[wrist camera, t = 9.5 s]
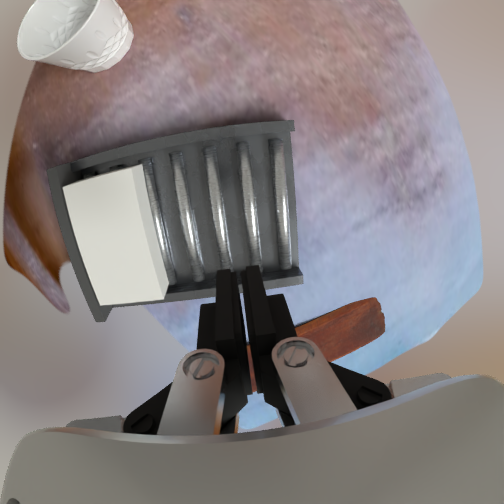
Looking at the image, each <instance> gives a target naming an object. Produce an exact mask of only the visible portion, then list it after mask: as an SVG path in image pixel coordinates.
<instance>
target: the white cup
mask: <svg viewBox="0 0 504 504" xmlns="http://www.w3.org/2000/svg"><path fill="white" fill-rule="evenodd" d="M133 37H134V34H133V29H132V24H131V23H130V22H129V20H128V19H127V18H126V16H125V14H124V12H123V10H122V9H121V8H120V6H119V4H118V3H117V1H116V0H36V1H35V2H34V3H33V5H32V6H31V7H30V8H29V10H28V11H27V13H26V15H25V16H24V18H23V20H22V23H21V25H20V28H19V32H18V36H17V48H18V51H19V53H20V55H21V56H22V57H23V58H25V59H27V60H31V61H37V62H42V63H47V64H52V65H56V66H60V67H65V68H71V69H75V70H83V71H88V72H93V73H96V72H100V71H103V70H107V69H109V68H110V67H112V66H113V65H115V64H116V63H118V62H119V61H120V60H121V59H122V58H123V57H124V55H125V54H126V53H127V51H128V50H129V49H130V46H131V43H132V40H133Z"/></svg>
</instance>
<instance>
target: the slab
mask: <svg viewBox="0 0 504 504" xmlns="http://www.w3.org/2000/svg"><path fill="white" fill-rule="evenodd" d="M63 191H64V196H65V200H66V204H67V208H68V212H69V216H70V220H71V223H72V227H73V230H74V234H75V237H76V240H77V244H78V247H79V250H80V253H81V256H82V259H83V262H84V265H85V268H86V270H87V273H88V276H89V279H90V281H91V284H92V286H93V289H94V291H95V294H96V296H97V299H98V301H99V304H100V306H101V305H113V304H124V303H134V302H144V301H154V300H163V299H164V297H165V294H166V291H167V288H168V285H169V281H168V278H167V274H166V270H165V267H164V263H163V259H162V255H161V251H160V247H159V243H158V239H157V235H156V230H155V226H154V222H153V217H152V212H151V208H150V203H149V198H148V193H147V188H146V183H145V177H144V172H143V166H142V164H140V165H135V166H131V167H127V168H123V169H119V170H115V171H111V172H107V173H104V174H100V175H97V176H93V177H90V178H86V179H83V180H80V181H77V182H74V183H72V184H69V185H67V186H64V187H63Z"/></svg>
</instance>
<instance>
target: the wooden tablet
mask: <svg viewBox="0 0 504 504" xmlns="http://www.w3.org/2000/svg"><path fill="white" fill-rule="evenodd" d="M384 319H385V317H384V314H383V313H382V312H381V305H380V303H379V302H378V301H377V298H368V299H364V300H360V301H356V302H353V303H350V304H348V305H345V306H343V307H341V308H339V309H336V310H334V311H332V312H330V313H328V314H325V315H323V316H321V317H319V318H316V319H314V320H312V321H310V322H308V323H305V324H303V325H301V326H298V327H295V330H296V333H297V336H298V337H303V338H307V339H309V340H311V341H313V342H314V343H315V344H316V345H317V346H318V348H319V349H320V351H321V352H322V354H323V356H324V357H325V359H326V360H327V361H329V362H332V361H334V360H336V359H338V358H340V357H343V356H345V355H347V354H349V353H351V352H353V351H355V350H357V349H359V348H360V347H363V346H364V345H366V344H368V343H370V342H372V341H373V340H375V339H377V338H378V337H380V336H381V335H382V334H383V333H384V332H385V322H384ZM247 351H248V360H249V368H250V376H251V384H252V392H255V391H257V388H256V382H255V375H254V369H253V363H252V357H251V350H250V344H249V345H247Z"/></svg>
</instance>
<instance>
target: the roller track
mask: <svg viewBox="0 0 504 504" xmlns="http://www.w3.org/2000/svg"><path fill="white" fill-rule="evenodd" d="M290 131H295V128H294V120H285V121H270V122H258V123H247V124H238V125H230V126H222V127H215V128H208V129H202V130H196V131H190V132H184V133H179V134H174V135H169V136H164V137H159V138H155V139H150V140H146V141H142V142H137V143H133V144H130V145H126V146H122V147H118V148H115V149H111V150H108V151H104V152H101V153H98V154H94V155H91V156H88V157H85V158H82V159H79V160H76V161H73V162H70V163H66V164H62V165H59V166H55V167H53V168H50V169H48V170H47V175H48V180H49V185H50V190H51V194H52V199H53V203H54V207H55V211H56V215H57V218H58V222H59V226H60V229H61V232H62V236H63V239H64V242H65V245H66V248H67V251H68V254H69V257H70V260H71V263H72V266H73V268H74V271H75V274H76V277H77V279H78V282H79V284H80V287H81V289H82V291H83V294H84V296H85V299H86V301H87V303H88V306H89V308H90V310H91V312H92V314H93V316H94V319H95V321H96V322H105V321H106V319H107V317H108V315H109V313H110V311H111V310H112V308H113V307H124V306H135V305H146V304H156V303H165V302H174V301H183V300H192V299H200V298H208V297H216V275H217V270H222V269H229V268H230V269H231V272H234V271H236V273H237V280H238V287H239V293H243V288H242V280H241V271H242V270H246V268H245V266H252V265H259V267H260V271H261V275H262V279H263V283H264V288H265V290H267V289H273V288H280V287H286V286H293V285H299V284H303V274H302V272H301V270H300V269H299V259H298V235H297V216H296V200H295V185H294V171H293V159H292V147H291V136H290ZM140 164H142V166H143V172H144V177H145V183H146V188H147V193H148V198H149V203H150V208H151V212H152V217H153V222H154V226H155V230H156V235H157V239H158V243H159V247H160V251H161V255H162V259H163V263H164V267H165V270H166V274H167V278H168V281H169V285H168V288H167V291H166V294H165V297H164V299H163V300H154V301H144V302H134V303H124V304H113V305H101V306H100V304H99V301H98V299H97V296H96V294H95V291H94V289H93V286H92V284H91V281H90V279H89V276H88V273H87V270H86V268H85V265H84V262H83V259H82V256H81V253H80V250H79V247H78V244H77V240H76V237H75V234H74V230H73V227H72V223H71V220H70V216H69V212H68V208H67V204H66V200H65V196H64V191H63V187H64V186H67V185H69V184H72V183H74V182H77V181H80V180H83V179H86V178H90V177H93V176H97V175H100V174H104V173H107V172H111V171H115V170H119V169H123V168H127V167H131V166H135V165H140Z"/></svg>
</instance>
